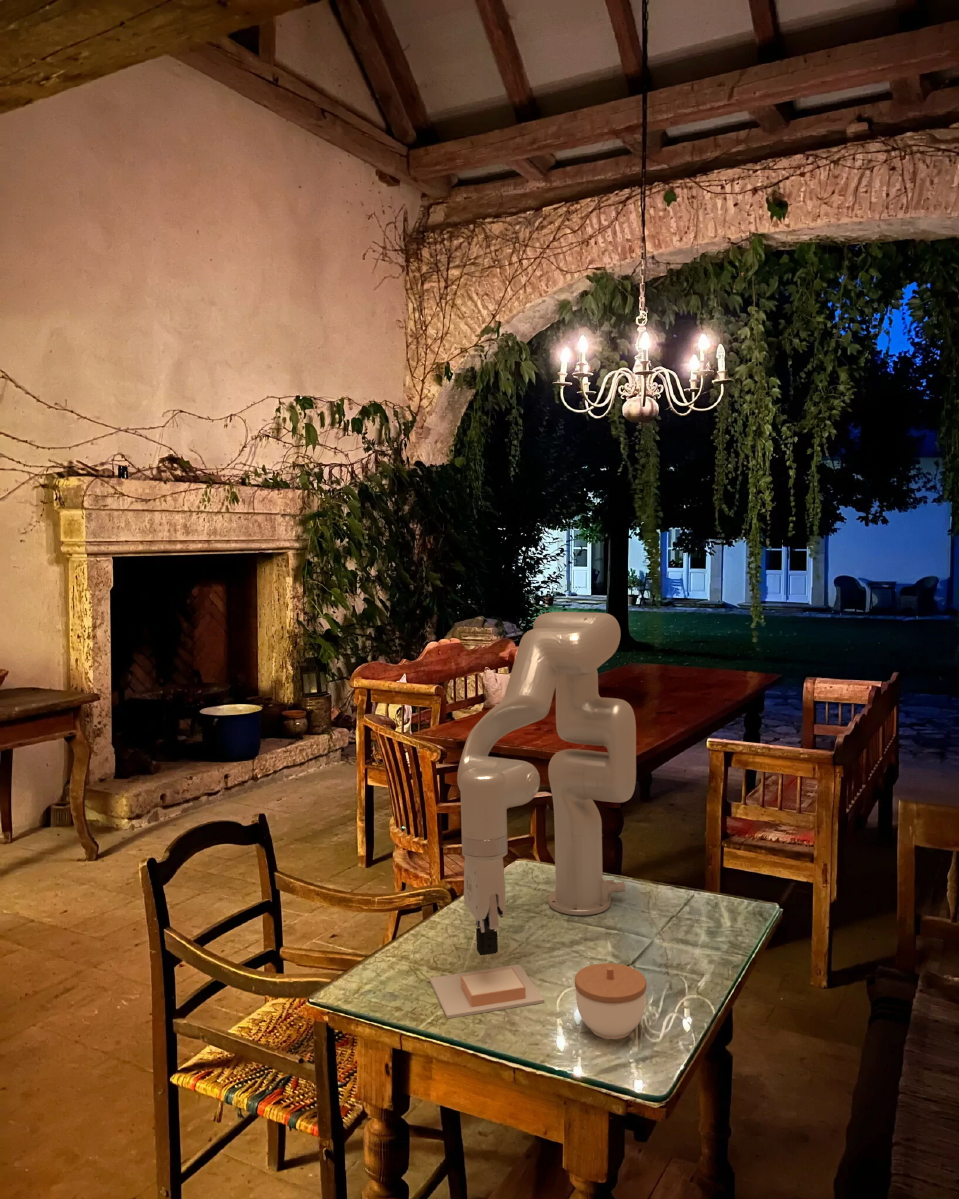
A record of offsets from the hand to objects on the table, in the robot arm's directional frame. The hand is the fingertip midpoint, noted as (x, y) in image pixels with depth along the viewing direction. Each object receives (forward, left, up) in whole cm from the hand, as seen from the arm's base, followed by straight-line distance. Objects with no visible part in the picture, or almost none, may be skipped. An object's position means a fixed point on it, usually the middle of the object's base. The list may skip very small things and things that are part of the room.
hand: (487, 952), depth 153 cm
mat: (+1, +2, -6) cm, 6 cm away
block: (0, 0, -4) cm, 4 cm away
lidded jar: (-14, +19, -6) cm, 24 cm away
